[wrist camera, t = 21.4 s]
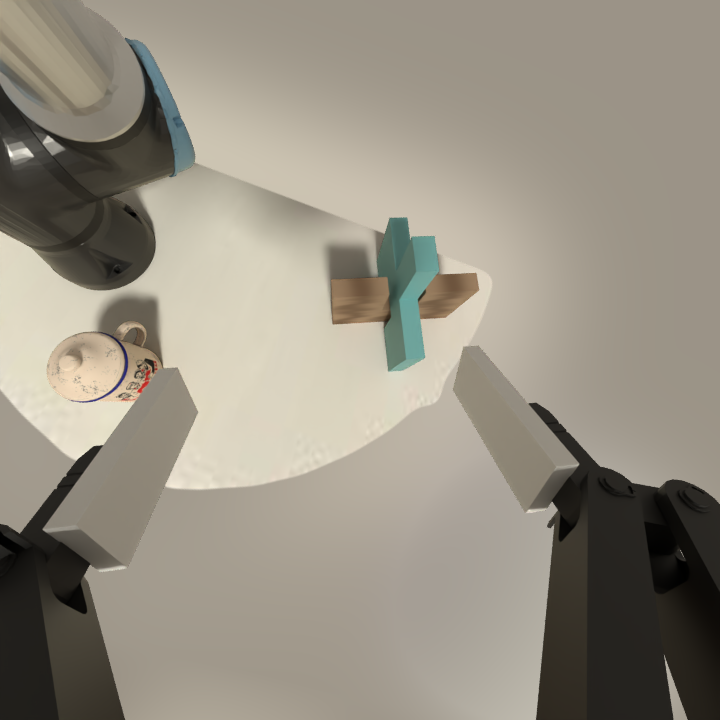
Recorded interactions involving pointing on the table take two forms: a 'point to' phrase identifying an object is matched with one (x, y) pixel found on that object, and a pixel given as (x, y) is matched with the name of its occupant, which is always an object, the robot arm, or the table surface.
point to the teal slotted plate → (405, 290)
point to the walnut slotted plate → (372, 297)
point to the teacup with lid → (102, 366)
